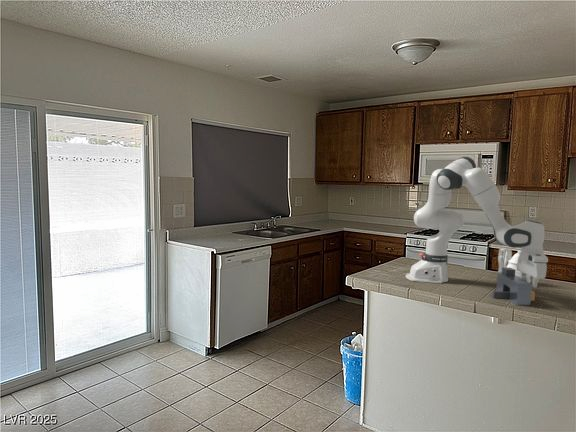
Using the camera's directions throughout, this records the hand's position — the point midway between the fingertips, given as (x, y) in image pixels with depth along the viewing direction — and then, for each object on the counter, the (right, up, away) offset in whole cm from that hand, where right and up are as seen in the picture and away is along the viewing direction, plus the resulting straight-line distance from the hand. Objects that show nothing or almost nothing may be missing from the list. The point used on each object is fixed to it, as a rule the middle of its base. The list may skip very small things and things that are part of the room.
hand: (529, 284), depth 192 cm
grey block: (-7, -7, +2) cm, 10 cm away
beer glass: (+14, -3, +50) cm, 52 cm away
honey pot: (+12, -5, +32) cm, 34 cm away
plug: (-7, -7, +2) cm, 10 cm away
